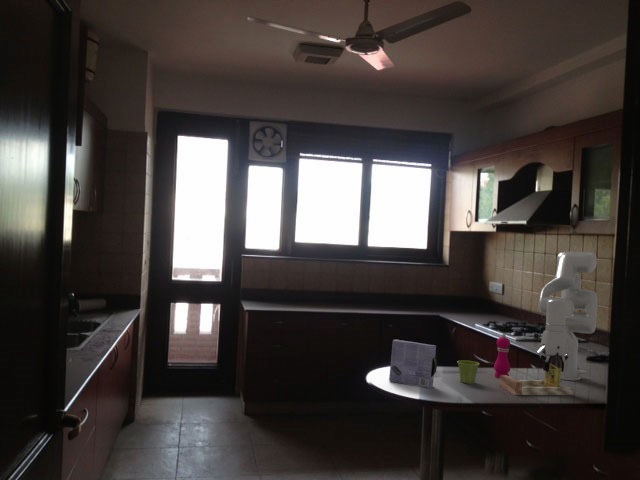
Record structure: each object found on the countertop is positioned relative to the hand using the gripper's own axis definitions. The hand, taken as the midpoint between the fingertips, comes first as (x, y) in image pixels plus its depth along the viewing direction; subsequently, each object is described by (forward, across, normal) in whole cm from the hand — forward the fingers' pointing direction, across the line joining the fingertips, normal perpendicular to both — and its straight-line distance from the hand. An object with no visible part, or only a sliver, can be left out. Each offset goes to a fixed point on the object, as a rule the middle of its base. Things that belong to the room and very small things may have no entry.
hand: (553, 370), depth 236 cm
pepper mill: (+9, +10, -24) cm, 27 cm away
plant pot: (+9, +32, -14) cm, 36 cm away
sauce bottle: (+9, 0, 0) cm, 9 cm away
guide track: (+9, +8, 0) cm, 12 cm away
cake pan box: (+9, +59, -10) cm, 60 cm away
